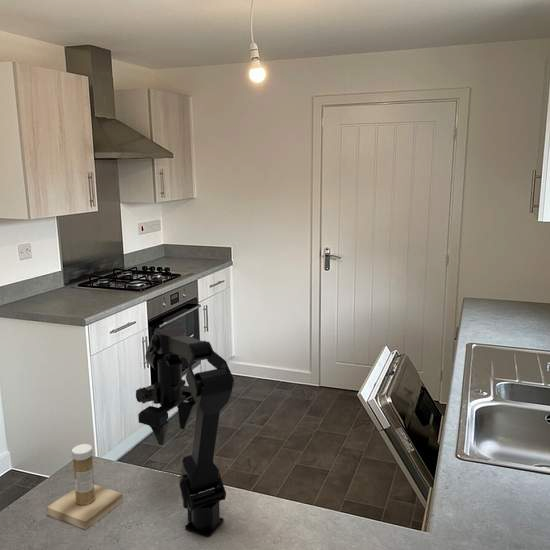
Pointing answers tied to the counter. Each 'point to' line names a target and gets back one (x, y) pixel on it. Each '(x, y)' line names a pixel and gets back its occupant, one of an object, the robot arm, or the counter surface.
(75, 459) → the sprinkles bottle
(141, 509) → the counter surface
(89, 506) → the tan block
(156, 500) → the counter surface
